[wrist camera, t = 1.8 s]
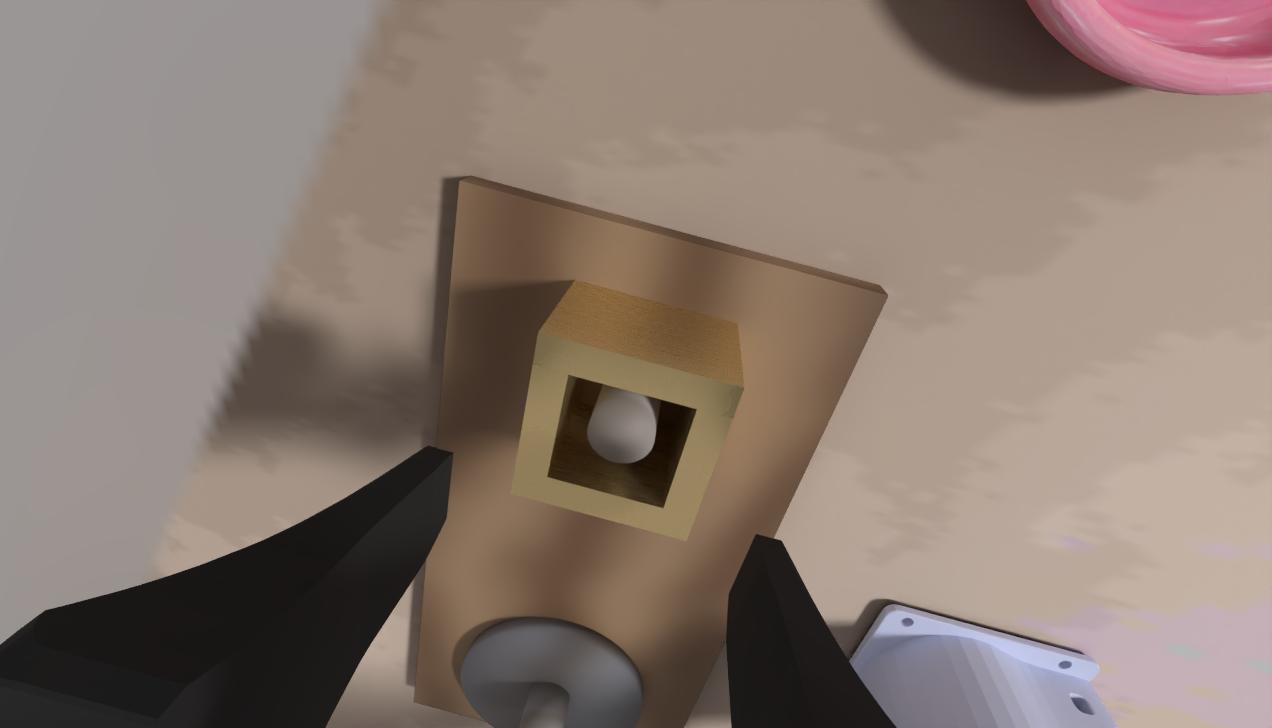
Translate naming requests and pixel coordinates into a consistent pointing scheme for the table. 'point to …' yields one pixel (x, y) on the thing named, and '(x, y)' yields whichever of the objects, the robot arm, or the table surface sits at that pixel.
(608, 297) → the collar
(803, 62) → the table surface
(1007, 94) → the table surface
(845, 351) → the board
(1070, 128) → the table surface
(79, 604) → the robot arm
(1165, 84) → the pink ring
